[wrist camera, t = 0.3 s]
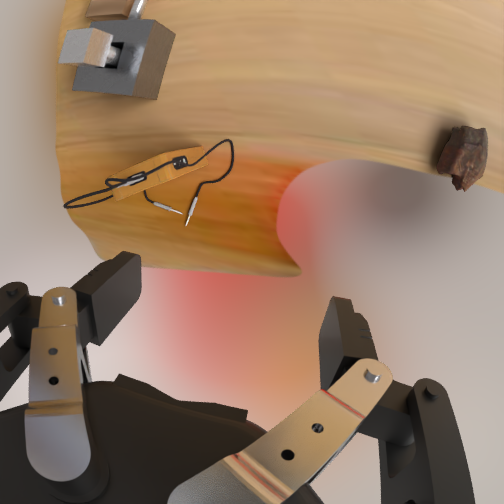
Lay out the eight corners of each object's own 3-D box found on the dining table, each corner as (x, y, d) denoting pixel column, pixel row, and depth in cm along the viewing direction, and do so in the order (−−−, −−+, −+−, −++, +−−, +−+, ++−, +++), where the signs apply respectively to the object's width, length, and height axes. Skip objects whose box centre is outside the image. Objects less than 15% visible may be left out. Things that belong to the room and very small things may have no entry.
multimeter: (159, 234, 44) (80, 302, 25) (136, 171, 41) (38, 206, 22) (253, 207, 40) (216, 273, 22) (230, 135, 37) (169, 140, 19)
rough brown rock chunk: (473, 204, 30) (499, 135, 25) (431, 180, 33) (455, 111, 28) (470, 195, 35) (492, 135, 29) (432, 174, 38) (453, 114, 32)
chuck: (131, -6, 30) (108, -21, 23) (190, -7, 29) (172, -26, 23) (100, 92, 36) (72, 90, 30) (156, 99, 36) (131, 95, 30)
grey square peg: (121, 47, 32) (67, 30, 21) (144, 48, 32) (93, 27, 21) (113, 73, 33) (57, 63, 22) (137, 75, 33) (83, 62, 22)
